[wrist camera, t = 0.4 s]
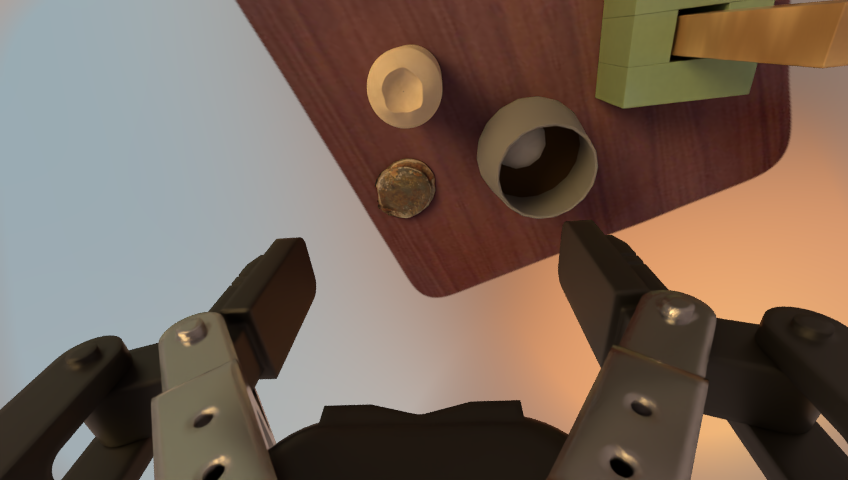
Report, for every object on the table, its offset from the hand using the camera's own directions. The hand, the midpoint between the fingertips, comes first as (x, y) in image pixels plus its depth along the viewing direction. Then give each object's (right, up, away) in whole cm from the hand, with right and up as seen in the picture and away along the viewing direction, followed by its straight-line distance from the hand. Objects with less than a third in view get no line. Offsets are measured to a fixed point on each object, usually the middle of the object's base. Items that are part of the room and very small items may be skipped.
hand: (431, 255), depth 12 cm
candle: (-1, +16, +23) cm, 28 cm away
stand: (+20, +18, +20) cm, 34 cm away
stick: (+20, +18, +20) cm, 34 cm away
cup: (+9, +10, +25) cm, 29 cm away
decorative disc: (-2, +6, +29) cm, 29 cm away
